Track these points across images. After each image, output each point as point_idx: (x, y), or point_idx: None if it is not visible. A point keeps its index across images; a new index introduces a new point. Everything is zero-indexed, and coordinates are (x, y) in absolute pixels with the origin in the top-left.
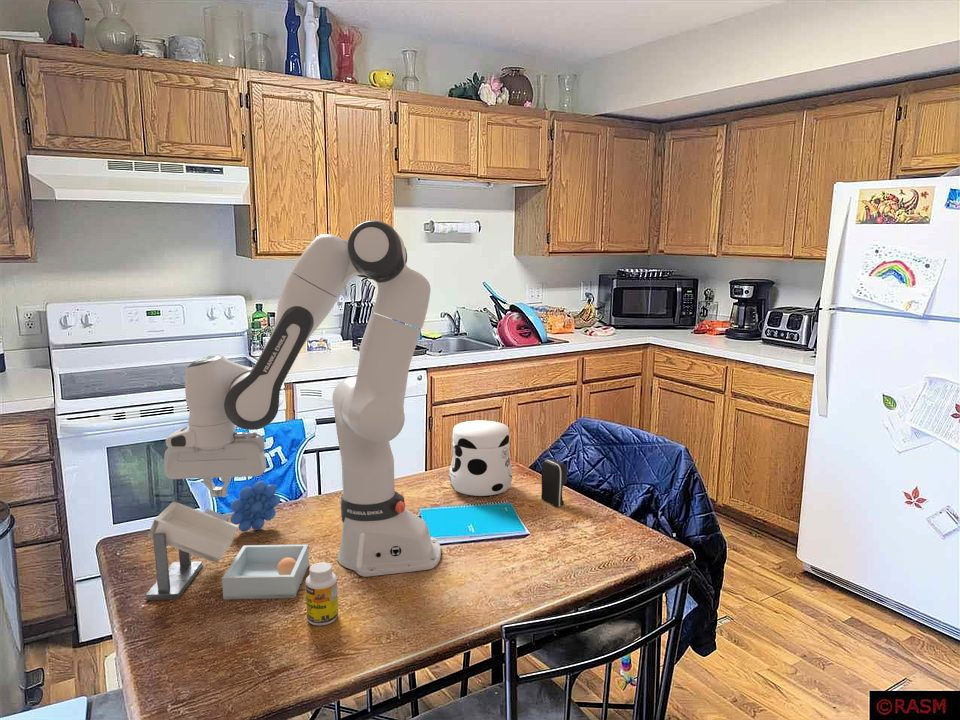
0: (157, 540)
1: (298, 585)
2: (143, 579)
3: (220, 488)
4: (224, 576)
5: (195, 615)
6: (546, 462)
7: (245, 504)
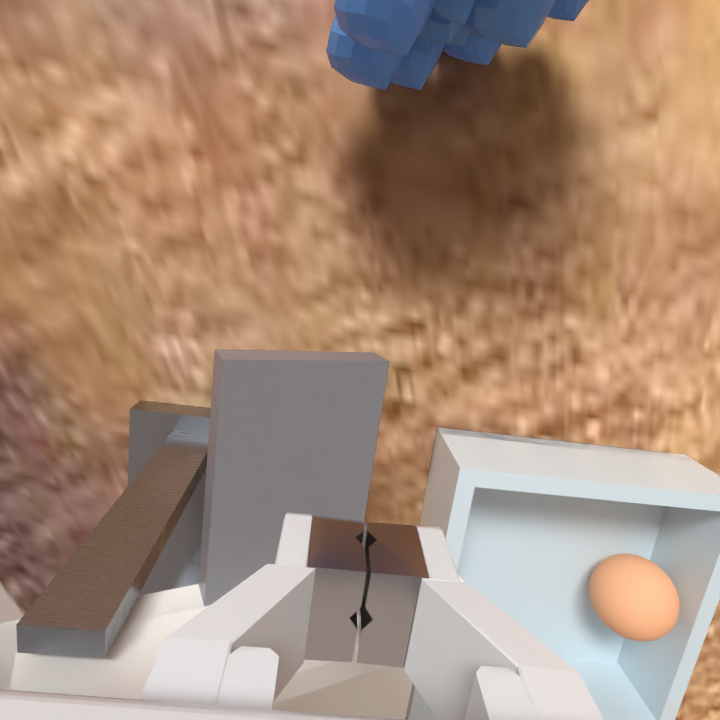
0: None
1: None
2: (52, 483)
3: (390, 637)
4: (415, 713)
5: None
6: None
7: None
